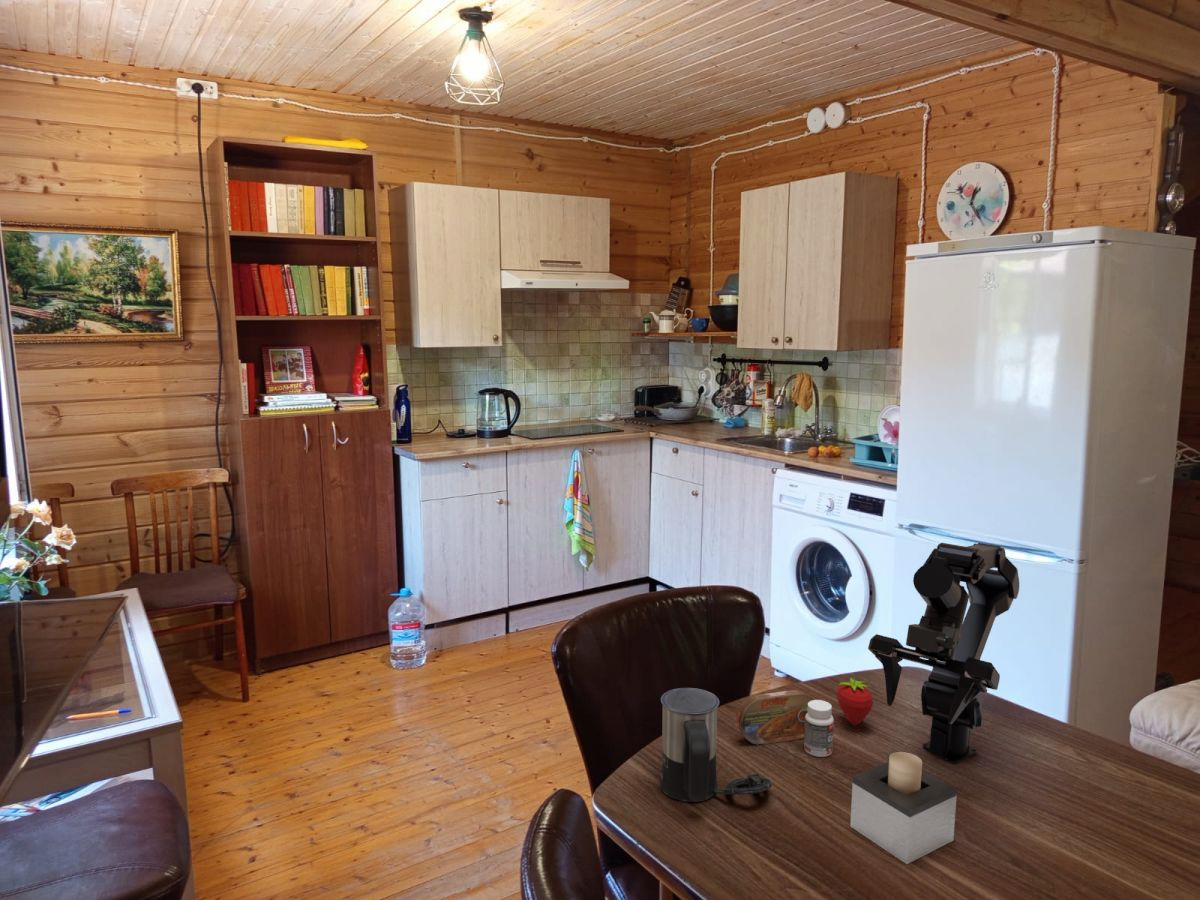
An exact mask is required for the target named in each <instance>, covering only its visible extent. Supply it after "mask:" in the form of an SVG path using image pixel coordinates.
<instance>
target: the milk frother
mask: <svg viewBox="0 0 1200 900" xmlns="http://www.w3.org/2000/svg"><path fill="white" fill-rule="evenodd" d="M660 702H661V705H662V716H661V717H662V720H661V721H662V722H661V723H662V728H661V729H662V731H661V732H662V733H661V735H662V738H661V739H662V741H661V742H662V743H661V744H662V753H661V760H662V761H661V762H662V763H661V765H662V766H661V773H660V774H661V776H660V780H659V782H660V783H659V786H660V789H661V791H662V792H663V793H664V795H667V796H668V797H670V798H672V799H675V800H677V801H681V802H690V803H691V802H692V803H693V802H695V803H696V802H704V801H707V800H708V799H709V800H710V799H711V798H713V797H714V796H715V795H716V794H720V795H721V794H722V795H738V796H739V795H753V794H754V795H755V794H758V793H761V792H762V793H763V792H764V791H768V790H769V789H770V788H772V780H770V779H769V778H766V777H762V776H761V777H760V775H759V773H751V774H750V773H749V774H748V775H747V776H746V777H742V778H737V779H733V780H732V781H729V782H728V783H727V784H726V786H725V788H719V784H718V781H717V738H718V737H717V736H718V735H717V734H718V731H717V729H718V707H719V706H720V700H719V698H718V697H717V695H715V693H713V692H710V691H707V690H705V689H700V688H695V687H694V688H693V687H679V688H674V689H669V690H668V691H666V692H664V693H663V694H662V696H661V697H660ZM744 784H748V787H738V786H740V785H744Z"/></svg>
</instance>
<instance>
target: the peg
mask: <svg viewBox="0 0 1200 900" xmlns="http://www.w3.org/2000/svg"><path fill="white" fill-rule="evenodd" d="M888 758H889V760H888V762H889V772H888V785H889V786H890V787H892V788H894V789H896V790H897V791H899V792H901V793H902V794H904V795H906V796H909V795H911V794H913V793H916V792H918V791H920V788H921V773H922V770H923V761H922V759H921V758H920V757H918V755H916V754H913V753H909V752H906V751H905V752H904V751H897V752H892V753H891V754H889V757H888Z"/></svg>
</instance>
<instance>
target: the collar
mask: <svg viewBox="0 0 1200 900" xmlns="http://www.w3.org/2000/svg"><path fill="white" fill-rule="evenodd" d="M888 772H889V761H887V762H884V763H881V764H879V765H877V766H874V767H872V768H870V769H867V770H865V771H863V772H860V773H857V774H856V775H852V786H851V788H852V789H851V803H850V804H851V805H850V807H851V808H850V828H852V829H853V830H855V832H858V833H859V834H860V835H862V836H864V837H865V838H867V839H868V840H870V841H871V842H873V843H874V844H875V845H877V846H879V847H880V848H882V849H883V850H884V851H886V852H887V853H889V854H891V855H892V856H894V857H895V858H896V859H897V860H899V861H901V862H903V863H904V864H905V865H909V864H911V863H913V862H914V861H916V860H919V859H921V858H922V857H924V856H926V855H928V854H930V853H932V852H933V851H936V850H939V849H940V848H942V847H943V846H945V845H947V844H949V843H951V842H954V836H955V822H956V811H957V810H956V809H957V795H958V788H956V787H954V786H953V785H951V784H949V783H947V782H945V781H943V780H942V779H939V778H937V777H936V776H934V775H932V774H930V773H928V772H927V771H925V770H923V769H922V773H921V788H920V791H918V792H916V793H913V794H911V795H909V796H906V795H904V794H902V793H901V792H899V791H897V790H896V789H894V788H892V787H890V786H889V785H888Z"/></svg>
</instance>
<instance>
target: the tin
mask: <svg viewBox="0 0 1200 900" xmlns="http://www.w3.org/2000/svg"><path fill="white" fill-rule="evenodd" d="M812 700H815V699H814V697H812V696H810V695H809V694H807V693H806V692H804V691H802V690H799V689H791V690H781V691H775V692H769V693H762V694H761V693H759V694H754V695H751V696H749V697H747V698H746V699H745V700H744V701H743V702H742V703H741V704H740V705H739V708H738V710H737V714H736V723H737V724H736V725H737V728H738V730H739V731H740V733H741V734H742V735H743V737H744V738H745V740H747V741H748V742H749V743H751V744H753V745H759V744H764V745H769V743H770V744H775V743H782V742H789V741H791V742H792V741H796V740H802V739H805V716H806V714H807V713H808V711H807V708H808V703H809V702H810V701H812ZM759 746H760V745H759Z"/></svg>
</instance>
